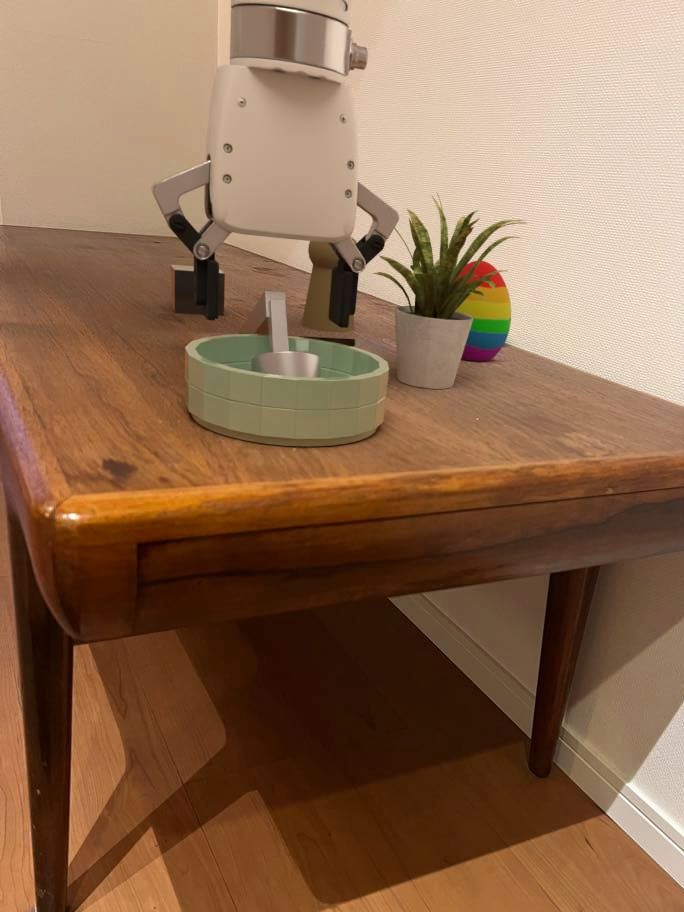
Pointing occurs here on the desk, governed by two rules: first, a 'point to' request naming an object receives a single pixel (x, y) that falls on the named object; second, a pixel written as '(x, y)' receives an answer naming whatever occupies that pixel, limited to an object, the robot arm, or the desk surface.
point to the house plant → (437, 302)
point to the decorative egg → (486, 314)
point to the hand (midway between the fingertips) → (275, 320)
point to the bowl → (284, 392)
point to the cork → (323, 294)
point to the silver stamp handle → (277, 340)
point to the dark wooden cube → (190, 291)
